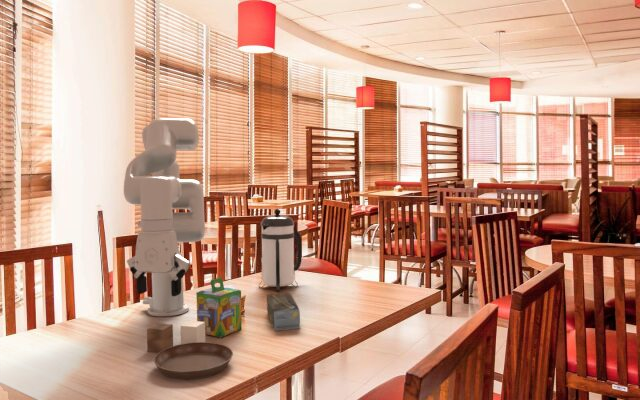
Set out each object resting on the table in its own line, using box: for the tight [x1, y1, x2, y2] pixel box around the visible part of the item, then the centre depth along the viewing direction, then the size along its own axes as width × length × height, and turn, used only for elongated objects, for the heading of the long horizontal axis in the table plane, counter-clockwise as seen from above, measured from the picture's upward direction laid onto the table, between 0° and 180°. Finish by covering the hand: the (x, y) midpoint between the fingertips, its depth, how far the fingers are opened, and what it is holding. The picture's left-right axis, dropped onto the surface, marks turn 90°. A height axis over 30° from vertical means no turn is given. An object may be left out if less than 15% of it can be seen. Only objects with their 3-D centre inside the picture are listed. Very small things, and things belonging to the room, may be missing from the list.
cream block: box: [179, 320, 206, 344], centre depth 132 cm, size 4×4×6 cm
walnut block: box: [146, 322, 174, 354], centre depth 130 cm, size 4×4×6 cm
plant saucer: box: [153, 341, 234, 380], centre depth 119 cm, size 18×18×3 cm
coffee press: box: [258, 208, 303, 293], centre depth 197 cm, size 17×16×30 cm
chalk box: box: [196, 277, 242, 338], centre depth 144 cm, size 9×9×15 cm
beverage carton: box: [266, 292, 301, 331], centre depth 154 cm, size 8×19×7 cm, turn 11°
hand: (159, 294), depth 129 cm, fingers open, 9 cm apart
